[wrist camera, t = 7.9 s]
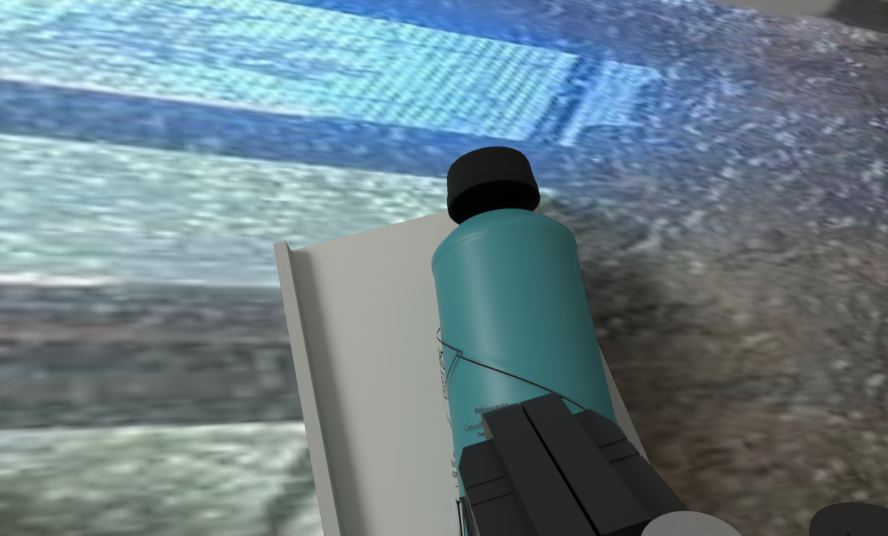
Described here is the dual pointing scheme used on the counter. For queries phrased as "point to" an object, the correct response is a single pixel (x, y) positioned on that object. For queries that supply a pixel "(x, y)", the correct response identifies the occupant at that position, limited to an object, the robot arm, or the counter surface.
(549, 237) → the beverage bottle
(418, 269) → the panel with raised edges
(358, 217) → the counter surface
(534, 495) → the robot arm
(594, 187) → the counter surface
